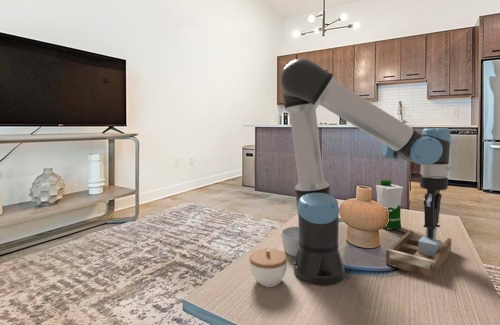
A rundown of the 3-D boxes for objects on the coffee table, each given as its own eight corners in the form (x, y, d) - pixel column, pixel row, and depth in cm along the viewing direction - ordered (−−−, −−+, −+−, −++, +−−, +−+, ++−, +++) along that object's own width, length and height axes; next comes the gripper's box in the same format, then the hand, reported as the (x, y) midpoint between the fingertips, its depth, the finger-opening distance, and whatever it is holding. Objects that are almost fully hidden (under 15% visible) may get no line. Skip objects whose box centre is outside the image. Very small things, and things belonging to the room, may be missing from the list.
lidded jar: (284, 271, 88) (283, 242, 87) (290, 290, 77) (289, 258, 76) (249, 273, 88) (248, 244, 86) (251, 292, 77) (250, 260, 76)
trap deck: (386, 264, 90) (386, 249, 89) (409, 241, 107) (409, 228, 106) (433, 278, 81) (434, 262, 80) (450, 251, 98) (451, 237, 97)
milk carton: (389, 222, 129) (390, 178, 126) (404, 228, 120) (406, 182, 118) (372, 224, 126) (373, 180, 124) (387, 231, 118) (388, 184, 115)
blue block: (418, 252, 92) (418, 241, 91) (422, 247, 95) (422, 236, 95) (436, 257, 88) (436, 245, 88) (439, 252, 92) (440, 240, 91)
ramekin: (319, 245, 107) (319, 227, 106) (318, 261, 94) (318, 240, 93) (284, 242, 110) (284, 225, 109) (278, 257, 98) (278, 238, 97)
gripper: (443, 180, 84) (439, 256, 87) (452, 174, 93) (448, 243, 96) (415, 178, 89) (412, 249, 92) (425, 172, 98) (422, 237, 101)
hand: (430, 246), depth 94 cm, fingers closed
